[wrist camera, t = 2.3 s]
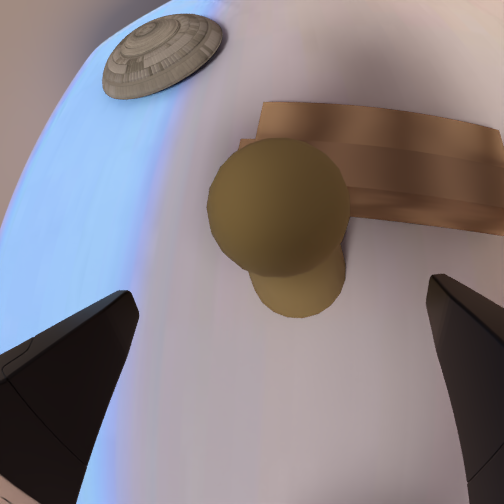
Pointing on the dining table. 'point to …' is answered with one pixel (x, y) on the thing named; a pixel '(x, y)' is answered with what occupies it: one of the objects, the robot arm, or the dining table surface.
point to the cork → (283, 223)
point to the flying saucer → (160, 55)
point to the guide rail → (402, 162)
